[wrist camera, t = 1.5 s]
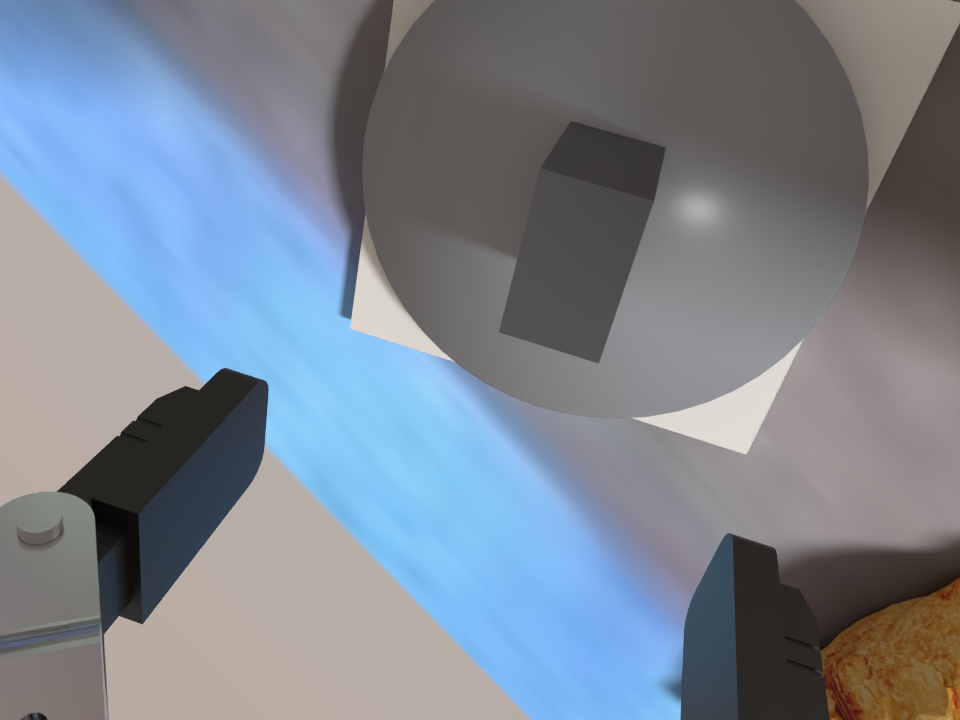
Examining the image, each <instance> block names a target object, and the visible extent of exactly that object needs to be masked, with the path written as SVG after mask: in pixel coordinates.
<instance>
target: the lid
mask: <svg viewBox="0 0 960 720" xmlns="http://www.w3.org/2000/svg"><path fill="white" fill-rule="evenodd" d="M362 184H363V199H364V206H365V211H366V217H367V222H368V227H369V232H370V235H371V238H372V241H373V244H374V247H375V250H376V254H377V257H378V259H379V261H380V264H381V266H382V268H383V270H384V272H385V275H386V277H387V279H388V281H389V283H390V285H391V287H392V288H393V290H394V292H395V293H396V295H397V297H398V298H399V300H400V302H401V303H402V305H403V307H404V308H405V310H406V311H407V312H408V313H409V315H410V316H411V317H412V319H413V320H414V321H415V322H416V324H417V325H418V326H419V328H420V329H421V330H422V331H423V332H424V333H425V334H426V335H427V336H428V337H429V338H430V340H431V341H432V342H433V343H434V344H435V345H436V346H437V347H438V348H439V349H440V350H441V351H442V352H444V353H445V354H446V355H447V356H448V357H450V358H451V359H452V360H453V361H455V362H456V363H457V364H458V365H459V366H461V367H462V368H463V369H465V370H466V371H468V372H469V373H471V374H472V375H474V376H475V377H477V378H478V379H480V380H481V381H483V382H484V383H486V384H488V385H490V386H492V387H494V388H496V389H498V390H500V391H502V392H504V393H506V394H508V395H510V396H512V397H514V398H517V399H520V400H522V401H525V402H527V403H530V404H533V405H535V406H539V407H542V408H546V409H550V410H554V411H557V412H561V413H566V414H573V415H579V416H586V417H594V418H618V419H622V418H637V417H650V416H656V415H661V414H667V413H672V412H678V411H681V410H684V409H688V408H691V407H694V406H698V405H701V404H704V403H707V402H710V401H712V400H714V399H716V398H719V397H721V396H723V395H726V394H728V393H730V392H733V391H735V390H736V389H738V388H740V387H742V386H743V385H745V384H747V383H748V382H750V381H752V380H754V379H755V378H757V377H759V376H760V375H762V374H763V373H764V372H766V371H767V370H768V369H770V368H771V367H772V366H774V365H775V364H776V363H777V362H779V361H780V360H781V359H783V358H784V357H785V356H786V355H787V354H788V353H789V352H790V351H791V350H792V349H793V348H794V347H795V346H796V345H798V344H799V343H800V342H801V341H802V340H803V339H804V338H805V337H806V336H807V335H808V333H809V332H810V331H811V330H812V328H813V327H814V326H815V324H816V323H817V322H818V321H819V319H820V318H821V317H822V316H823V314H824V313H825V312H826V311H827V309H828V307H829V306H830V304H831V302H832V301H833V299H834V297H835V296H836V294H837V292H838V290H839V289H840V287H841V285H842V284H843V282H844V280H845V277H846V275H847V272H848V270H849V268H850V265H851V263H852V261H853V258H854V256H855V253H856V251H857V247H858V243H859V239H860V236H861V232H862V228H863V224H864V220H865V214H866V205H867V197H868V188H869V173H868V148H867V143H866V137H865V132H864V127H863V121H862V116H861V112H860V109H859V106H858V103H857V100H856V98H855V95H854V92H853V89H852V86H851V83H850V80H849V78H848V76H847V74H846V72H845V70H844V69H843V67H842V65H841V63H840V61H839V59H838V57H837V55H836V54H835V52H834V50H833V48H832V46H831V45H830V43H829V42H828V40H827V39H826V37H825V36H824V35H823V33H822V32H821V31H820V29H819V28H818V27H817V25H816V24H815V23H814V21H813V20H812V19H811V17H810V16H809V15H808V13H807V12H806V11H805V9H804V8H803V7H802V6H801V5H800V4H799V3H797V2H796V1H795V0H434V1H433V2H432V3H431V5H430V6H429V7H428V8H427V9H426V10H425V11H424V12H423V13H422V15H421V16H420V17H419V18H418V19H417V20H416V21H415V22H414V24H413V25H412V26H411V28H410V29H409V31H408V32H407V34H406V35H405V36H404V38H403V39H402V41H401V42H400V44H399V45H398V47H397V48H396V50H395V51H394V53H393V55H392V57H391V59H390V61H389V63H388V65H387V67H386V69H385V71H384V73H383V75H382V77H381V79H380V81H379V84H378V87H377V90H376V93H375V96H374V99H373V102H372V105H371V108H370V111H369V116H368V122H367V127H366V132H365V137H364V143H363V160H362Z"/></svg>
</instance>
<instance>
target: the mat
mask: <svg viewBox="0 0 960 720" xmlns="http://www.w3.org/2000/svg"><path fill="white" fill-rule="evenodd" d="M433 1H434V0H394V3H393V11H392V18H391V26H390V33H389V41H388V48H387V56H386V63H385V69H386V67H387V65H388V63H389V61H390V59H391V57H392V55H393V53H394V51H395V50H396V48H397V47H398V45H399V44H400V42H401V41H402V39H403V38H404V36H405V35H406V34H407V32H408V31H409V29H410V28H411V26H412V25H413V24H414V22H415V21H416V20H417V19H418V18H419V17H420V16H421V15H422V13H423V12H424V11H425V10H426V9H427V8H428V7H429V6H430V5H431V3H432V2H433ZM795 1H796V2H797V3H799V4H800V5H801V6H802V7H803V8H804V9H805V11H806V12H807V13H808V15H809V16H810V17H811V19H812V20H813V21H814V23H815V24H816V25H817V27H818V28H819V29H820V31H821V32H822V33H823V35H824V36H825V37H826V39H827V40H828V42H829V43H830V45H831V46H832V48H833V50H834V52H835V54H836V55H837V57H838V59H839V61H840V63H841V65H842V67H843V69H844V70H845V72H846V74H847V76H848V78H849V80H850V83H851V86H852V89H853V92H854V95H855V98H856V100H857V103H858V106H859V109H860V112H861V116H862V121H863V127H864V132H865V137H866V143H867V148H868V173H869V188H868V197H867V205H866V211H867V209H868V207H869V205H870V203H871V201H872V199H873V197H874V195H875V193H876V191H877V189H878V187H879V185H880V183H881V181H882V179H883V177H884V175H885V173H886V171H887V169H888V167H889V165H890V163H891V161H892V159H893V157H894V155H895V153H896V151H897V149H898V147H899V145H900V143H901V141H902V139H903V137H904V135H905V133H906V130H907V128H908V126H909V124H910V122H911V120H912V118H913V116H914V114H915V112H916V110H917V108H918V106H919V104H920V102H921V100H922V98H923V96H924V94H925V92H926V90H927V88H928V86H929V84H930V82H931V80H932V78H933V76H934V74H935V72H936V70H937V68H938V66H939V64H940V62H941V60H942V58H943V56H944V54H945V52H946V50H947V48H948V46H949V44H950V42H951V39H952V37H953V35H954V33H955V31H956V29H957V27H958V25H959V23H960V2H957V1H953V0H795ZM350 329H353V330H356V331H359V332H362V333H366V334H369V335H372V336H375V337H378V338H381V339H384V340H388V341H391V342H394V343H397V344H400V345H403V346H406V347H410V348H413V349H416V350H419V351H422V352H425V353H428V354H432V355H435V356H438V357H441V358H444V359H447V360H450V361H453V360H452V359H451V358H450V357H448V356H447V355H446V354H445V353H444V352H442V351H441V350H440V349H439V348H438V347H437V346H436V345H435V344H434V343H433V342H432V341H431V340H430V338H429V337H428V336H427V335H426V334H425V333H424V332H423V331H422V330H421V329H420V328H419V326H418V325H417V324H416V322H415V321H414V320H413V319H412V317H411V316H410V315H409V313H408V312H407V311H406V310H405V308H404V307H403V305H402V303H401V302H400V300H399V298H398V297H397V295H396V293H395V292H394V290H393V288H392V287H391V285H390V283H389V281H388V279H387V277H386V275H385V272H384V270H383V268H382V266H381V264H380V261H379V259H378V257H377V254H376V250H375V247H374V244H373V241H372V238H371V235H370V232H369V227H368V222H367V217H366V213H365V220H364V228H363V235H362V243H361V250H360V258H359V265H358V273H357V280H356V288H355V295H354V303H353V310H352V318H351V325H350ZM802 341H803V340H802ZM802 341H801V342H800V343H799V344H798V345H796V346H795V347H794V348H793V349H792V350H791V351H790V352H789V353H788V354H787V355H786V356H785V357H784V358H783V359H781V360H780V361H779V362H777V363H776V364H775V365H774V366H772V367H771V368H770V369H768V370H767V371H766V372H764V373H763V374H762V375H760V376H759V377H757V378H755V379H754V380H752V381H750V382H748V383H747V384H745V385H743V386H742V387H740V388H738V389H736V390H735V391H733V392H730V393H728V394H726V395H723V396H721V397H719V398H716V399H714V400H712V401H710V402H707V403H704V404H701V405H698V406H694V407H691V408H688V409H684V410H681V411H678V412H672V413H667V414H661V415H656V416H650V417H637V418H633V419H636V420H639V421H642V422H645V423H649V424H652V425H655V426H658V427H661V428H664V429H667V430H671V431H674V432H677V433H680V434H683V435H686V436H689V437H693V438H696V439H699V440H702V441H705V442H708V443H711V444H715V445H718V446H721V447H724V448H727V449H730V450H733V451H737V452H740V453H743V454H747V452H748V450H749V448H750V446H751V444H752V442H753V440H754V438H755V436H756V434H757V432H758V430H759V428H760V426H761V424H762V422H763V420H764V418H765V416H766V414H767V412H768V410H769V408H770V406H771V404H772V402H773V399H774V397H775V395H776V393H777V391H778V389H779V387H780V385H781V383H782V381H783V379H784V377H785V375H786V373H787V371H788V369H789V367H790V365H791V363H792V361H793V359H794V357H795V355H796V353H797V351H798V349H799V347H800V345H801V343H802ZM454 362H455V361H454Z"/></svg>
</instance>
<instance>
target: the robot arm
mask: <svg viewBox="0 0 960 720" xmlns="http://www.w3.org/2000/svg"><path fill="white" fill-rule="evenodd" d="M267 405H268V384H267V382H266V381H264V380H261V379H258V378H255V377H252V376H249V375H246V374H243V373H240V372H237V371H234V370H231V369H227V368H223V369H221V370H220V371H218V372H217V373H216V374H215V375H214V376H213V377H212V378H211V379H210V380H209V381H208V382H207V383H206V384H205V385H204V386H203V387H202V388H201V389H200V390H196V389H193V388H190V387H187V386H185V387H183V388H180V389H178V390H176V391H173V392H171V393H169V394H167V395H164V396H162V397H160V398H157V399H156V400H155V401H154V402H153V403H152V404H151V405H150V406H149V407H148V408H146V409H145V410H144V411H143V412H142V413H141V414H140V415H139V416H138V417H137V420H136V421H132V423H130V424H129V425H128V426H127V427H126V428H125V429H124V430H123V431H122V432H121V435H120V436H116V437H115V438H114V439H113V440H112V441H111V442H110V443H109V444H108V445H107V446H106V447H105V448H104V449H102V450H101V451H100V452H99V453H98V454H97V455H96V456H95V457H94V458H93V459H92V460H91V461H89V462H88V463H87V464H86V465H85V466H84V467H83V468H82V469H81V470H80V471H79V472H78V473H77V474H76V475H74V476H73V477H72V478H71V479H70V480H69V481H68V482H67V483H66V484H65V485H64V486H62V487H61V488H60V489H59V490H58V491H57V492H38V493H32V494H28V495H25V496H21V497H19V498H16V499H14V500H12V501H10V502H8V503H6V504H5V505H3V506H2V507H0V720H109V714H108V696H107V679H106V662H105V646H104V634H105V632H106V631H107V630H108V629H109V627H110V626H111V625H112V624H113V622H114V621H115V620H116V619H117V617H118V616H121V617H124V618H126V619H129V620H132V621H135V622H138V623H140V624H143V623H144V622H145V620H146V619H147V618H148V617H149V615H150V614H151V613H152V611H153V610H154V609H155V607H156V606H157V605H158V604H159V602H160V601H161V600H162V598H163V597H164V596H165V594H166V593H167V592H168V591H169V589H170V588H171V586H172V585H173V584H174V583H175V581H176V580H177V579H178V578H179V576H180V575H181V573H182V572H183V571H184V570H185V568H186V567H187V566H188V565H189V563H190V562H191V561H192V559H193V558H194V557H195V555H196V554H197V553H198V551H199V550H200V549H201V548H202V546H203V545H204V544H205V542H206V541H207V540H208V539H209V537H210V536H211V535H212V533H213V532H214V531H215V529H216V528H217V527H218V526H219V524H220V523H221V522H222V520H223V519H224V518H225V516H226V515H227V514H228V512H229V511H230V510H231V509H232V507H233V506H234V505H235V503H236V502H237V501H238V500H239V498H240V497H241V496H242V494H243V493H244V492H245V490H246V489H247V488H248V486H249V485H250V484H251V482H252V481H253V479H254V477H255V475H256V473H257V471H258V469H259V466H260V463H261V461H262V457H263V452H264V444H265V431H266V418H267ZM819 649H820V644H819V637H818V630H817V623H816V618H815V617H814V615H813V613H812V611H811V609H810V608H809V606H808V604H807V602H806V601H805V599H804V597H803V595H802V593H801V592H800V590H798V589H795V588H792V587H789V586H786V585H783V584H780V582H779V572H778V561H777V553H776V550H775V549H774V548H773V547H770V546H767V545H764V544H761V543H758V542H755V541H752V540H749V539H746V538H742V537H739V536H736V535H733V534H730V533H728V534H726V535H725V537H724V538H723V539H722V541H721V543H720V545H719V547H718V549H717V551H716V553H715V555H714V557H713V558H712V560H711V562H710V564H709V566H708V568H707V570H706V572H705V574H704V576H703V578H702V580H701V582H700V584H699V585H698V587H697V589H696V591H695V593H694V595H693V598H692V600H691V603H690V606H689V609H688V613H687V617H686V622H685V628H684V647H683V672H682V698H681V720H830V716H829V709H828V702H827V695H826V687H825V680H824V677H822V673H823V666H822V659H821V653H819Z"/></svg>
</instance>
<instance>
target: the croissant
mask: <svg viewBox="0 0 960 720" xmlns="http://www.w3.org/2000/svg"><path fill="white" fill-rule="evenodd" d="M819 653H821V659H822V666H823V673H822V677H824V680H825V687H826V695H827V702H828V709H829V716H830V720H960V576H959V577H958V578H957V579H956V580H954V581H953V582H952V583H951V584H949V585H948V586H946V587H944V588H942V589H940V590H938V591H936V592H934V593H933V594H931V595H929V596H925V597H919V598H913V599H909V600H906V601H903V602H901V603H898V604H891V605H890V606H889V607H887V608H885V609H883V610H881V611H878V612H876V613H874V614H871V615H869V616H867V617H865V618H863V619H861V620H859V621H857V622H856V623H854V624H853V625H851V626H850V627H849V628H847V629H845V630H844V631H842V632H841V633H840V634H839V635H838V636H837V637H836V638H835V639H834V640H833V641H832V642H831V643H830V644H829V645H828V646H827V647H825V648H824V649H822V650H820V651H819Z"/></svg>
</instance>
